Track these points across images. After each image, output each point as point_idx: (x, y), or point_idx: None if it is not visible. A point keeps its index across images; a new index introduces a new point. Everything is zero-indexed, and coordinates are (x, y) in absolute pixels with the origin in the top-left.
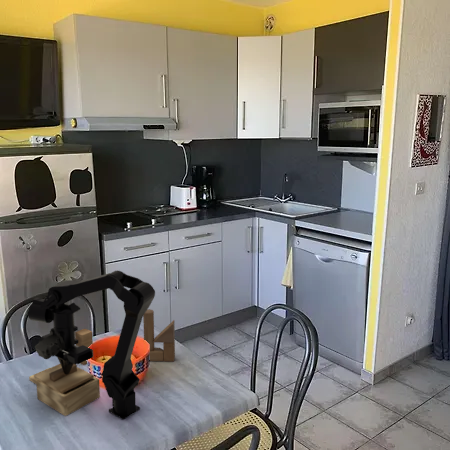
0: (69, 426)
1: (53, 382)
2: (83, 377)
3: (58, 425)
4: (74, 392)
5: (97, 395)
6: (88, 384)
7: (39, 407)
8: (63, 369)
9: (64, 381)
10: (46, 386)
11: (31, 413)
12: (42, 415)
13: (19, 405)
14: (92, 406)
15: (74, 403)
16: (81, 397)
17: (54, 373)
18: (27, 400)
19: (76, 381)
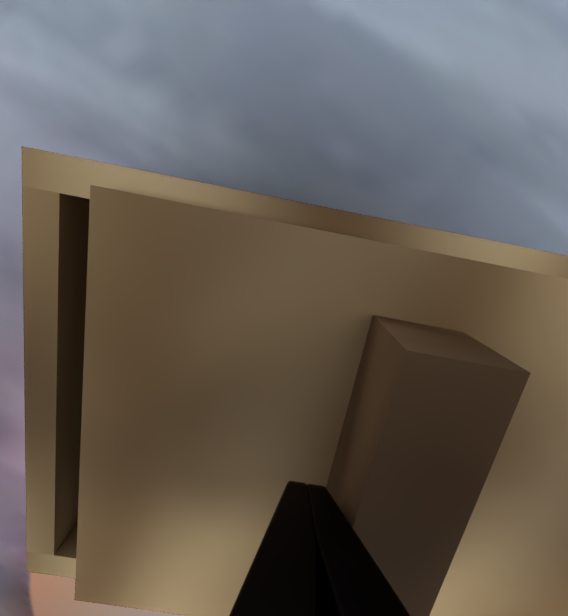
0: (16, 99)
1: (364, 301)
2: (127, 531)
3: (93, 66)
4: (28, 295)
5: None
6: (27, 468)
7: (394, 175)
8: (337, 549)
9: (252, 382)
10: (416, 227)
11: (394, 83)
12: (297, 106)
13: (558, 119)
14: None
15: None
16: None
17: (439, 410)
18: (542, 200)
19: (124, 443)
